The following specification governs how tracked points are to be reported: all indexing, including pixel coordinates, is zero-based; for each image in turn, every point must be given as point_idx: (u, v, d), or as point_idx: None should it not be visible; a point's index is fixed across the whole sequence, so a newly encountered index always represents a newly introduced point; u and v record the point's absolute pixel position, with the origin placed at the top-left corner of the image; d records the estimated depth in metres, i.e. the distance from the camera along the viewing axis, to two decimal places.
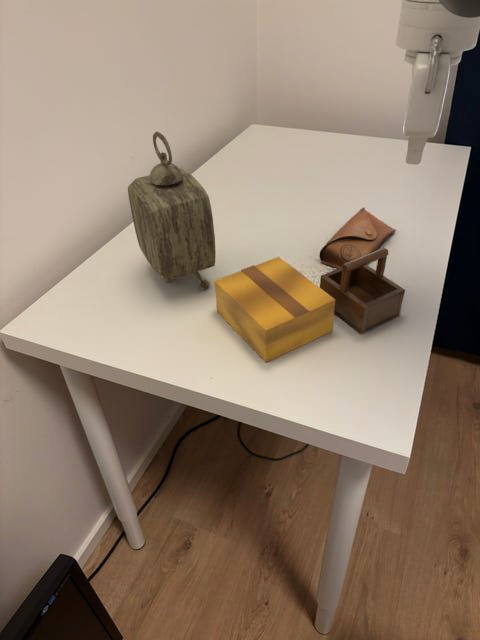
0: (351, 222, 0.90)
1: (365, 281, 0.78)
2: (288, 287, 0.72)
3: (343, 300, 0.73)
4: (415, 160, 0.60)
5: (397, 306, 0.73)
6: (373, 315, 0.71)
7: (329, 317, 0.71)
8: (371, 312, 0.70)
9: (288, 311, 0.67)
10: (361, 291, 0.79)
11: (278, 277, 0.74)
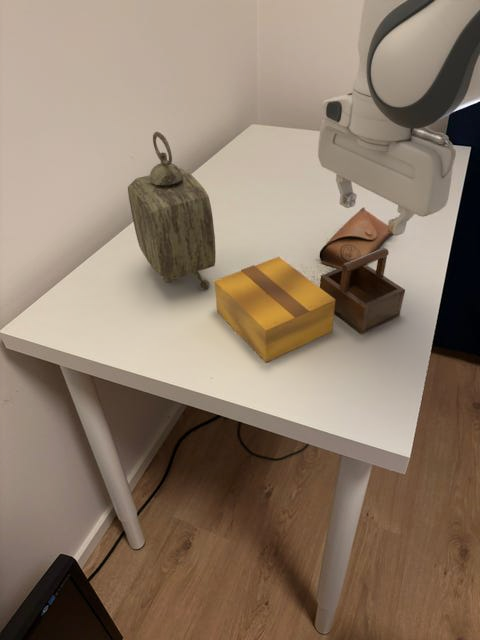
0: (351, 222, 0.90)
1: (365, 281, 0.78)
2: (288, 287, 0.72)
3: (343, 300, 0.73)
4: (401, 230, 0.63)
5: (397, 306, 0.73)
6: (373, 315, 0.71)
7: (329, 317, 0.71)
8: (371, 312, 0.70)
9: (288, 311, 0.67)
10: (361, 291, 0.79)
11: (278, 277, 0.74)
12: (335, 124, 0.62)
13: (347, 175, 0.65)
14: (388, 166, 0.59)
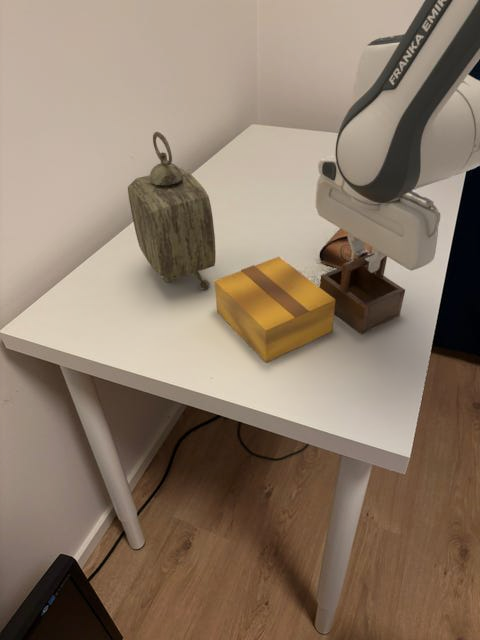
0: None
1: (365, 280, 0.78)
2: (288, 287, 0.72)
3: (343, 300, 0.73)
4: (376, 268, 0.70)
5: (397, 306, 0.73)
6: (373, 315, 0.71)
7: (329, 317, 0.71)
8: (371, 312, 0.70)
9: (288, 311, 0.67)
10: (361, 291, 0.79)
11: (278, 277, 0.74)
12: (330, 181, 0.67)
13: (342, 226, 0.70)
14: (380, 222, 0.64)
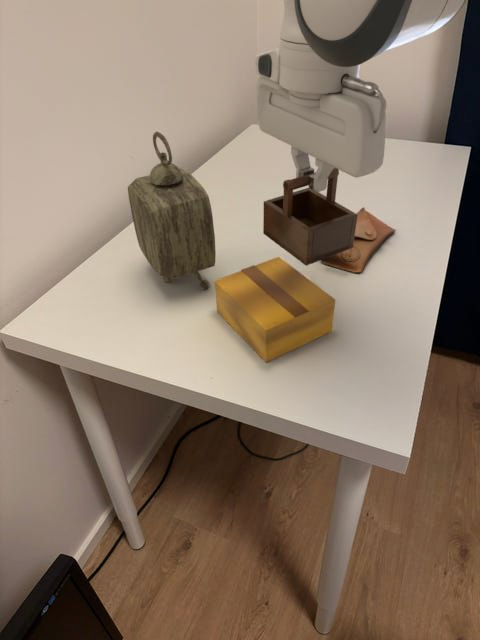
0: None
1: (316, 210, 0.68)
2: (288, 287, 0.72)
3: (286, 226, 0.63)
4: (323, 186, 0.61)
5: (349, 235, 0.64)
6: (320, 243, 0.62)
7: (329, 317, 0.71)
8: (317, 238, 0.61)
9: (288, 311, 0.67)
10: (312, 223, 0.69)
11: (278, 277, 0.74)
12: (268, 81, 0.58)
13: (284, 138, 0.60)
14: (321, 123, 0.54)
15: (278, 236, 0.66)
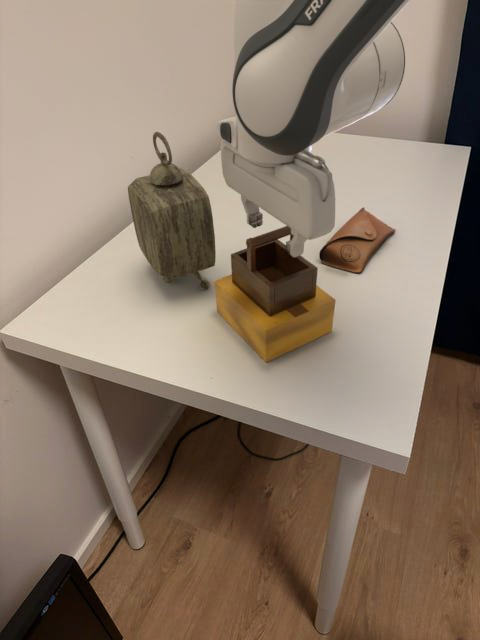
0: (351, 222, 0.90)
1: (282, 260, 0.72)
2: None
3: (251, 279, 0.67)
4: (299, 252, 0.62)
5: (310, 286, 0.68)
6: (282, 296, 0.65)
7: (329, 317, 0.71)
8: (278, 292, 0.65)
9: (288, 311, 0.67)
10: (279, 271, 0.73)
11: None
12: (230, 145, 0.61)
13: (247, 195, 0.64)
14: (277, 188, 0.58)
15: (245, 287, 0.70)
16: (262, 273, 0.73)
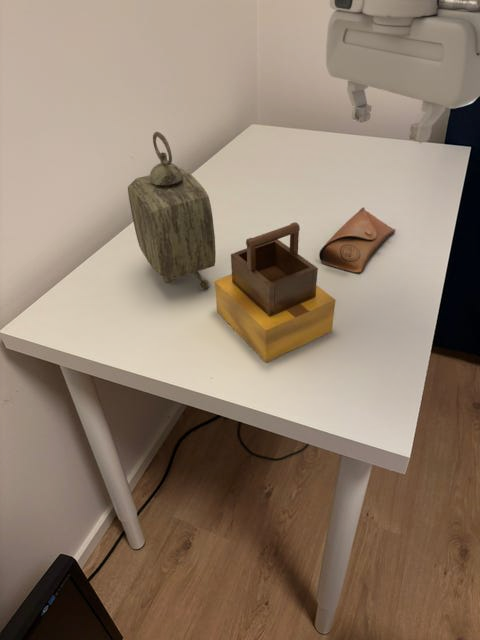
0: (351, 222, 0.90)
1: (282, 260, 0.72)
2: None
3: (251, 279, 0.67)
4: (426, 137, 0.54)
5: (310, 286, 0.68)
6: (282, 296, 0.65)
7: (329, 317, 0.71)
8: (278, 292, 0.65)
9: (288, 311, 0.67)
10: (279, 271, 0.73)
11: None
12: (345, 14, 0.54)
13: (361, 78, 0.56)
14: (410, 53, 0.50)
15: (245, 287, 0.70)
16: (262, 273, 0.73)
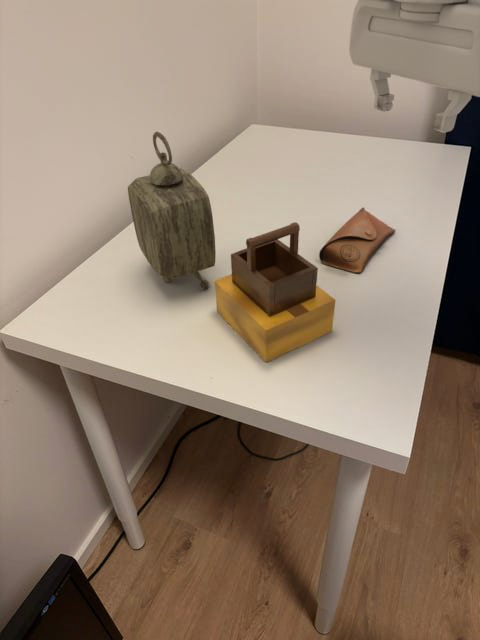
0: (351, 222, 0.90)
1: (282, 260, 0.72)
2: None
3: (251, 279, 0.67)
4: (450, 126, 0.54)
5: (310, 286, 0.68)
6: (282, 296, 0.65)
7: (329, 317, 0.71)
8: (278, 292, 0.65)
9: (288, 311, 0.67)
10: (279, 271, 0.73)
11: None
12: (372, 1, 0.53)
13: (385, 66, 0.56)
14: (438, 40, 0.50)
15: (245, 287, 0.70)
16: (262, 273, 0.73)
